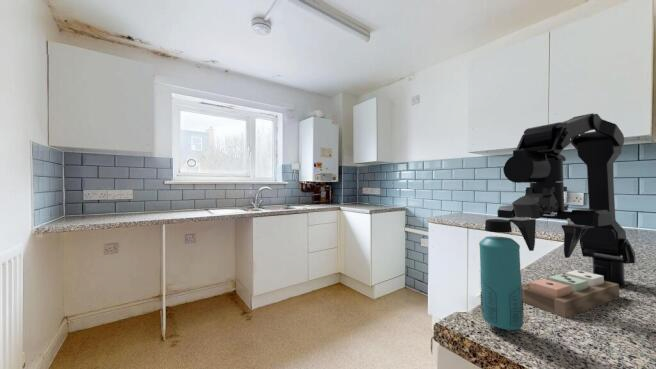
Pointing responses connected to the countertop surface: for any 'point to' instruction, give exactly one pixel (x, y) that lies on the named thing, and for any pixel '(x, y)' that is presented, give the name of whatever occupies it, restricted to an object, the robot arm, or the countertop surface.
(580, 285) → the three dot button
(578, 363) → the countertop surface
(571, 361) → the countertop surface
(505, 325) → the beverage bottle
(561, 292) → the one dot button
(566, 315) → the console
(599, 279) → the two dot button
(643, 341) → the countertop surface
